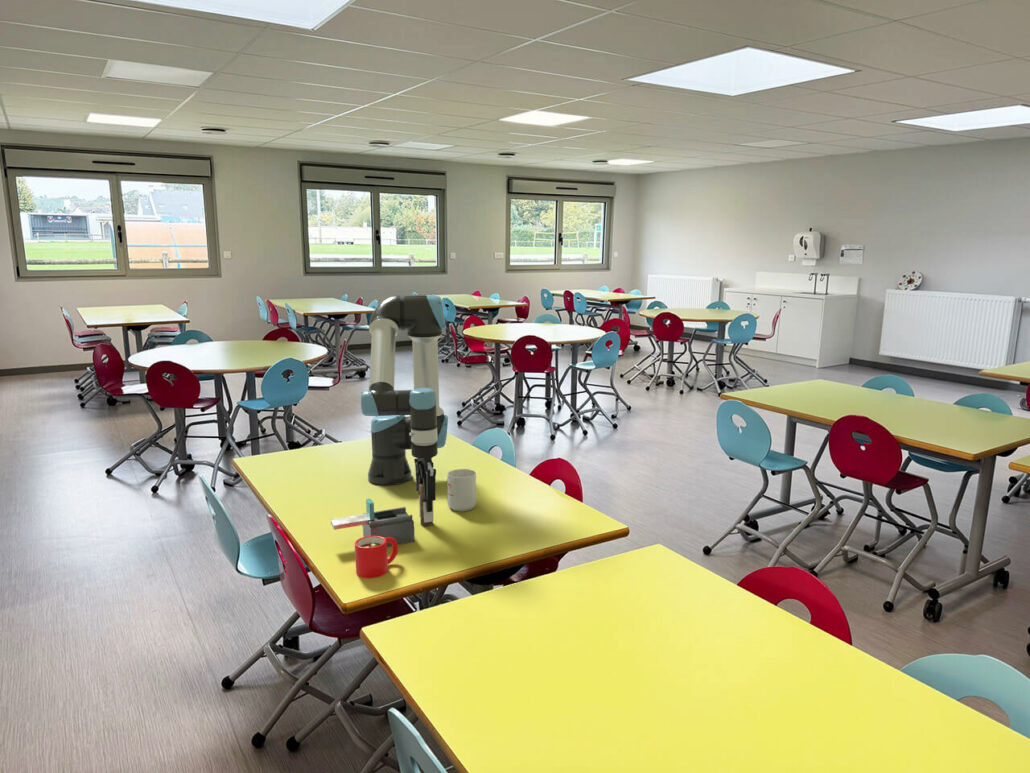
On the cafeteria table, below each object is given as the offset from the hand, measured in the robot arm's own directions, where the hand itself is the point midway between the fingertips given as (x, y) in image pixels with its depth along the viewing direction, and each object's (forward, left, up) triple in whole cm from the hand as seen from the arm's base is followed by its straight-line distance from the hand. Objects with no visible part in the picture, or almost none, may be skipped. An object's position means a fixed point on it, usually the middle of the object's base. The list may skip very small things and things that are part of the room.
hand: (426, 518), depth 206 cm
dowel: (0, 0, -2) cm, 2 cm away
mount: (+6, -13, -2) cm, 14 cm away
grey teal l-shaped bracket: (+6, -23, +5) cm, 24 cm away
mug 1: (+23, -20, -2) cm, 31 cm away
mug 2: (-10, +14, -2) cm, 17 cm away
